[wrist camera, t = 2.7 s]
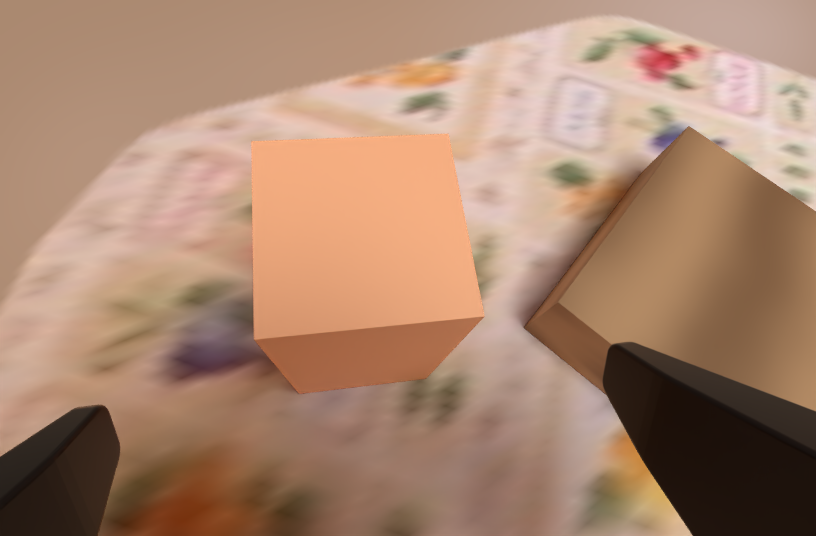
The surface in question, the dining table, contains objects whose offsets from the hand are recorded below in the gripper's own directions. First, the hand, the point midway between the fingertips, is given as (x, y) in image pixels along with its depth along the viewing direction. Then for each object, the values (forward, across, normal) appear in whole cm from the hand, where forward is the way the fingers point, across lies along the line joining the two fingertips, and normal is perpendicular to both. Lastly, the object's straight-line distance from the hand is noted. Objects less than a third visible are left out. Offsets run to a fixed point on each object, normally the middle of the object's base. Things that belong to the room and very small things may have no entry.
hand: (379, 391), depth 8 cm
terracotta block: (+10, 0, +4) cm, 11 cm away
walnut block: (+9, -15, +6) cm, 19 cm away
